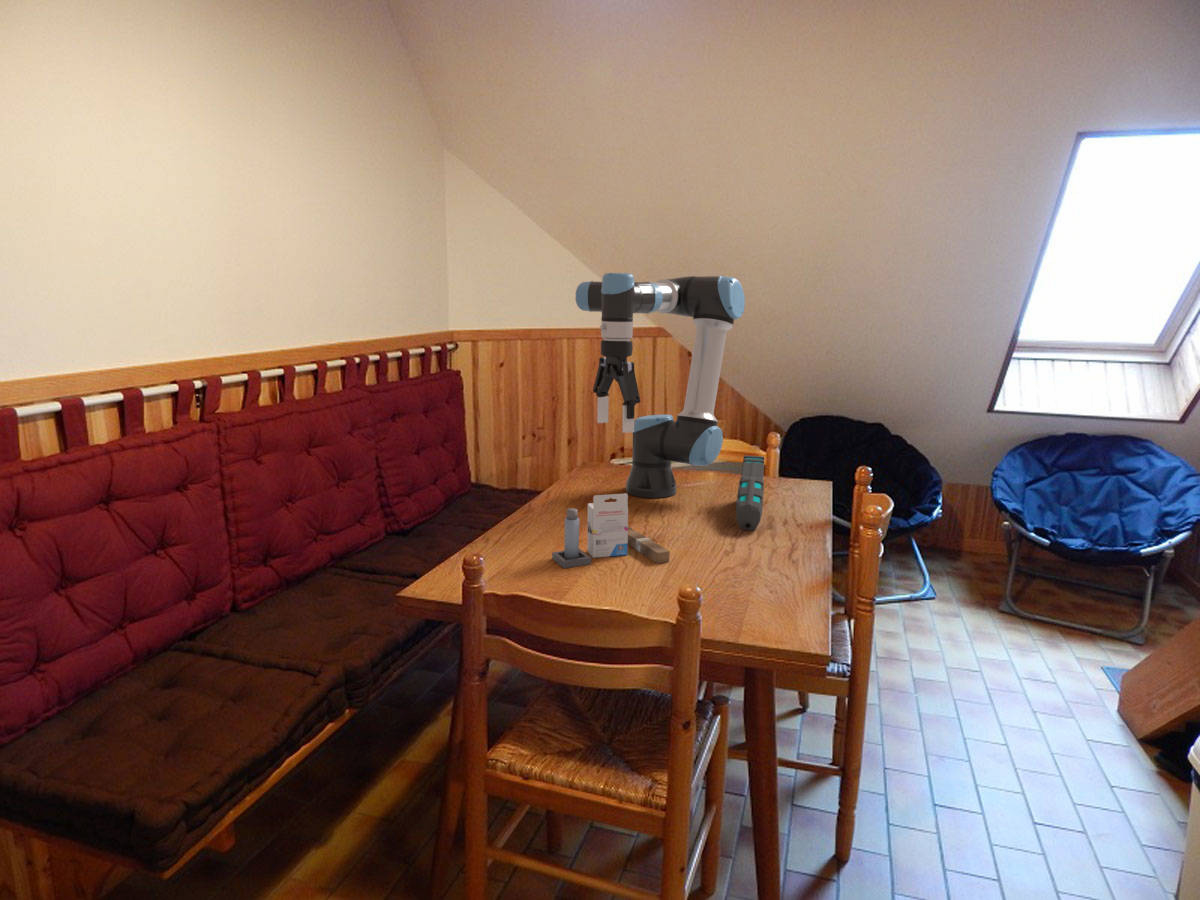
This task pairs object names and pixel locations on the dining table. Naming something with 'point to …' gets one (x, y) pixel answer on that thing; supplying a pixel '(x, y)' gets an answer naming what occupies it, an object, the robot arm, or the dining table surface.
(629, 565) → the dining table surface
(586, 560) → the holder
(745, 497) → the gun
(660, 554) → the grey-brown long bar
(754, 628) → the dining table surface
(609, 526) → the ink box
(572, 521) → the blue bottle
